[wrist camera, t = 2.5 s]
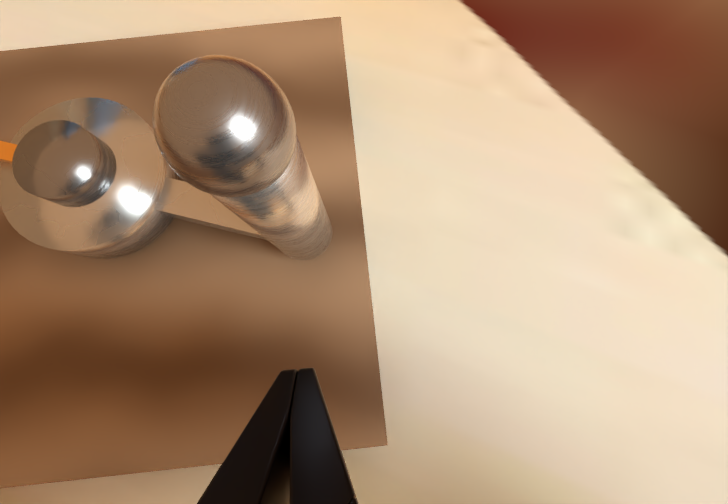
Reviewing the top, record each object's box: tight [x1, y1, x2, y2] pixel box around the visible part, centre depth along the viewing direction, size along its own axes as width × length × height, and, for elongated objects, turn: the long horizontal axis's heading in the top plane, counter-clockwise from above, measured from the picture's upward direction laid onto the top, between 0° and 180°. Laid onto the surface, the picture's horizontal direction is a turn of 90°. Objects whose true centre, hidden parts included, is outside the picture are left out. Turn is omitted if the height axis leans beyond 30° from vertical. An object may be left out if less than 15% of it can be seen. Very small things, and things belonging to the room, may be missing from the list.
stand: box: [0, 17, 387, 488], centre depth 17 cm, size 20×20×2 cm
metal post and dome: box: [0, 55, 332, 260], centre depth 12 cm, size 6×18×10 cm, turn 76°
